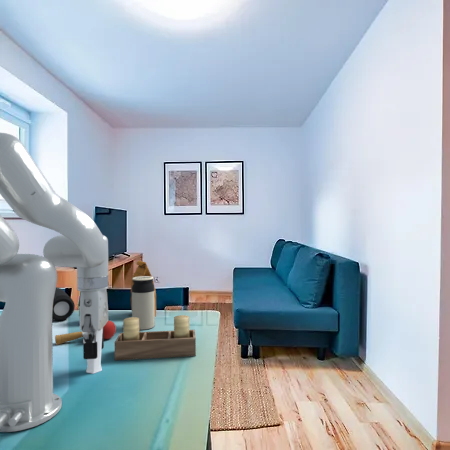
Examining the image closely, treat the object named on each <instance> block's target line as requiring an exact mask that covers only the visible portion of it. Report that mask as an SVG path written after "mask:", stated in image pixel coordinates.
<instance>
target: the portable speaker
mask: <svg viewBox="0 0 450 450" xmlns="http://www.w3.org/2000/svg"><path fill="white" fill-rule="evenodd" d="M75 307H76V305H75V301H74V300H73V299H72V298H71V297H70V296H69V294H67V293H66V292H65V290H64V289H63V288H59V287H56V289H55V294H54V300H53V309H52V320H54V321H58V322H59V321H60V322H61V321H65V320H68V319H69V318H70V317H71V316H72V315H73V313H74V312H75Z"/></svg>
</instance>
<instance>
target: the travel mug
mask: <svg viewBox="0 0 450 450" xmlns="http://www.w3.org/2000/svg"><path fill="white" fill-rule="evenodd" d="M151 276H152V275H151ZM151 276H139V277H134V278H133V282H134V284H133V286H132V308H131V317H136V318H139V331H145V330H150V329H152V328H154V327H155V326H156V323H155V322H156V317H155V300H154V287H155V284H154V285H153V283H152V281H153V282H154V277H153V276H152V277H151Z"/></svg>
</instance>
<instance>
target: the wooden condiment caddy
mask: <svg viewBox="0 0 450 450" xmlns="http://www.w3.org/2000/svg"><path fill="white" fill-rule="evenodd" d="M122 323H123V325H122V326H123V328H122V329H123V330H122V331H123V332H119V334H118V336H117V338H116V339H115V341H114V361H128V360H146V359H148V360H149V359H165V358H182V357H196V356H197V355H196V354H197V353H196V351H197V348H196V342H197V341H196V330H195V329H190V316H188V315H186V314H185V315H183V314H182V315H176V316H174V317H173V330H160V331H158V330H156V331H140V330H139V318H136V317H132V316H131V317H126V318H124V319H123V321H122Z"/></svg>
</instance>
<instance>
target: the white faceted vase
mask: <svg viewBox="0 0 450 450" xmlns="http://www.w3.org/2000/svg"><path fill="white" fill-rule="evenodd" d="M90 330H94V327H90ZM102 330H103V328H102V329H101V330H100V331H98V330H97V332H96V342H97V358H96V359H86V364H87V367H86V371H85V373H86V374H93V375H94V374H96V373H100V372H101V371H103V369H102V363H101V361H102V349H101V347H102ZM90 334H92V336H93V332H90Z"/></svg>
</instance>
